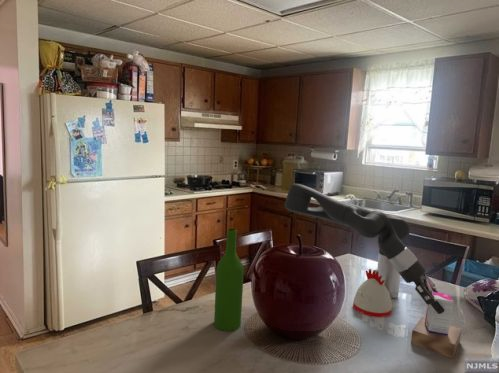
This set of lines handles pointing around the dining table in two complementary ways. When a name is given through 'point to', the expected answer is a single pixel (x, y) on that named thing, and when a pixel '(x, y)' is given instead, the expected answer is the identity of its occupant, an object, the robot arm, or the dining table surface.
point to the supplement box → (439, 315)
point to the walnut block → (436, 339)
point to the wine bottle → (229, 287)
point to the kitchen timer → (373, 297)
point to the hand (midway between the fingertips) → (441, 307)
